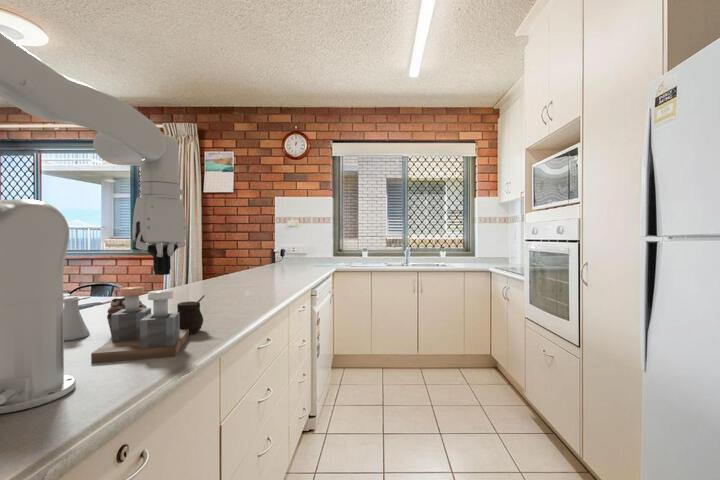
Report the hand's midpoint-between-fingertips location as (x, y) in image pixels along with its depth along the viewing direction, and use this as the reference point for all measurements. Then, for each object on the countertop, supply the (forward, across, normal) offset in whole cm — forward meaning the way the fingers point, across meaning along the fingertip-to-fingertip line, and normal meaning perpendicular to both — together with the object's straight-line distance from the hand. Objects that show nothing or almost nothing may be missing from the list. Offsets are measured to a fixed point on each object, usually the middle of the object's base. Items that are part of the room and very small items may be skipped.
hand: (162, 274), depth 80 cm
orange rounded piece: (+10, +1, -11) cm, 15 cm away
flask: (+18, +5, -31) cm, 36 cm away
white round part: (+10, +1, 0) cm, 10 cm away
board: (+17, +1, -5) cm, 18 cm away
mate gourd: (+18, -13, -9) cm, 24 cm away
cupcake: (+18, -4, -22) cm, 28 cm away
